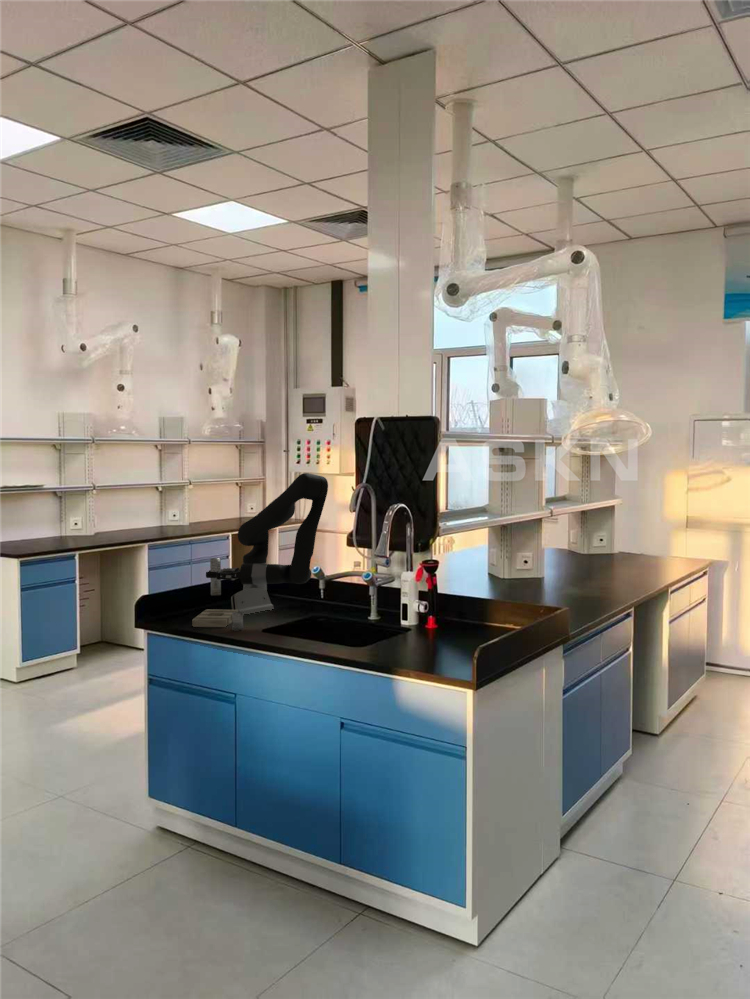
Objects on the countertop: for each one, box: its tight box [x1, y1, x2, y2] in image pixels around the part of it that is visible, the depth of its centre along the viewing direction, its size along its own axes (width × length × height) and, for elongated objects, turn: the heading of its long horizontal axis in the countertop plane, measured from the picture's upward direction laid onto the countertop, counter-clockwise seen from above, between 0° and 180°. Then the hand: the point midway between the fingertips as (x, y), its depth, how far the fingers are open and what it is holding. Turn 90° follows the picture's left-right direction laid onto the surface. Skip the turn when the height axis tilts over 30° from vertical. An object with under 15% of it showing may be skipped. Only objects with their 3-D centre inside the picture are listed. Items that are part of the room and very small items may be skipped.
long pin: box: [209, 557, 222, 596], centre depth 283 cm, size 4×4×13 cm
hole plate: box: [191, 608, 238, 628], centre depth 284 cm, size 18×12×2 cm, turn 177°
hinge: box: [230, 588, 275, 616], centre depth 302 cm, size 17×5×10 cm, turn 137°
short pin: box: [231, 612, 244, 632], centre depth 270 cm, size 4×4×6 cm
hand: (207, 573), depth 283 cm, fingers closed on long pin, 3 cm apart
